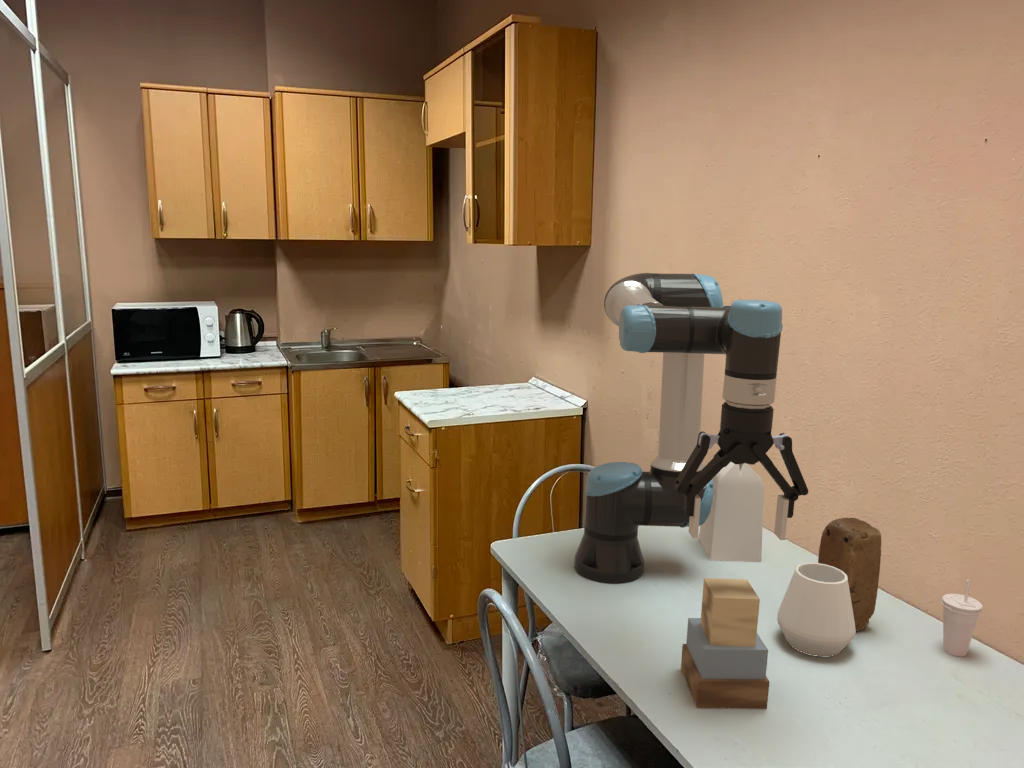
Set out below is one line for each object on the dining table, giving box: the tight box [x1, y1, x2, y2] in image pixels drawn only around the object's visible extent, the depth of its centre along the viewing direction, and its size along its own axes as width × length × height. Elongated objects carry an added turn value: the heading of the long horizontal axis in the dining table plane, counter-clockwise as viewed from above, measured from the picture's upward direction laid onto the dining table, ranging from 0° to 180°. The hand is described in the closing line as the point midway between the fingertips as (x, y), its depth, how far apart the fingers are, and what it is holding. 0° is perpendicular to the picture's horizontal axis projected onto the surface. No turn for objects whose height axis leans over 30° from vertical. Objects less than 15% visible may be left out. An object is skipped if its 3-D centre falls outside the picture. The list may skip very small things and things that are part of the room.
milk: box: [698, 462, 765, 563], centre depth 180 cm, size 12×12×26 cm
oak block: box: [700, 577, 761, 647], centre depth 124 cm, size 7×7×8 cm
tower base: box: [680, 643, 771, 710], centre depth 126 cm, size 11×11×5 cm
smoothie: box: [940, 578, 984, 658], centre depth 139 cm, size 6×6×14 cm
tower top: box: [685, 617, 769, 679], centre depth 125 cm, size 10×10×5 cm
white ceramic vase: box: [776, 562, 857, 657], centre depth 140 cm, size 13×13×14 cm
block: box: [817, 517, 882, 632], centre depth 148 cm, size 11×8×20 cm
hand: (736, 536), depth 121 cm, fingers open, 13 cm apart
